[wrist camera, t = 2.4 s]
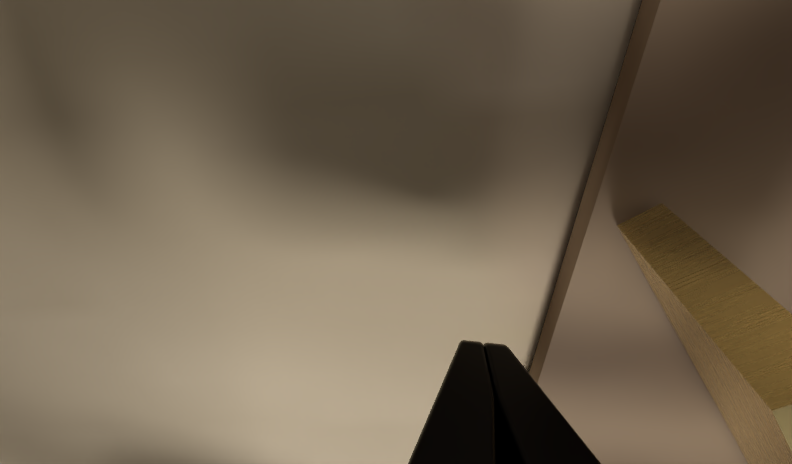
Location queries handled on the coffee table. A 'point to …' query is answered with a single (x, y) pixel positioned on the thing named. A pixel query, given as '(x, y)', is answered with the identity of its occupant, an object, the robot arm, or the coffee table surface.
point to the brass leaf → (722, 330)
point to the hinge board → (689, 200)
